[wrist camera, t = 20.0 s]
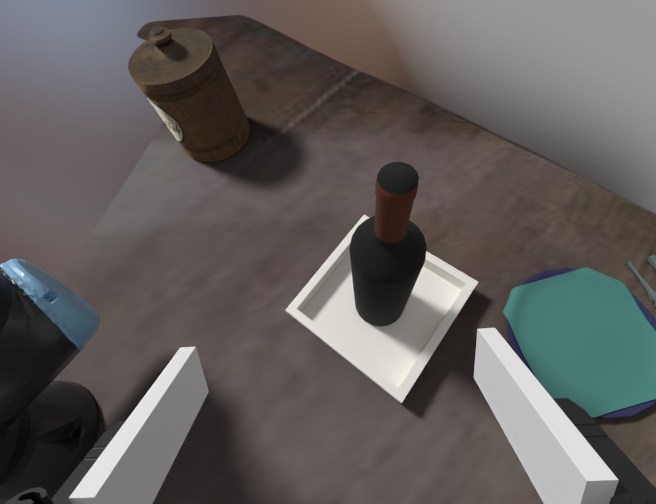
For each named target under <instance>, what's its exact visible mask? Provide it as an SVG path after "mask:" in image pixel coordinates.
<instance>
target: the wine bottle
mask: <svg viewBox="0 0 656 504" xmlns="http://www.w3.org/2000/svg"><path fill="white" fill-rule="evenodd" d="M418 179H419V177H418V173H417V172H416V170H415V169H414V168H413V167H412V166H410V165H409V164H406V163H402V162H394V163H390V164H387V165H385V166H384V167H383V168H381V170H380V171H379V173H378V176H377V180H376V190H375V193H376V208H375V216H373V217H371V218H369V219H366V220H365V221H364V222H363V223H361V224H360V225H359V226H358V227H357V229H356V230H355V232H354V233H353V235H352V238H351V243H350V248H349V252H350V261H351V270H352V280H353V289H354V298H355V306H356V310H357V312H358V314H359V316H360V317H361V318H362V319H363V320H364V321H365V322H367V323H369V324H371V325H374V326H379V327H380V326H388V325H390V324H392V323H394V322H396V321H397V320H398V319H399V318H400V317H401V315H402V313H403V311H404V308H405V306H406V304H407V302H408V299H409V297H410V295H411V292H412V290H413V288H414V285H415V283H416V281H417V279H418V276H419V274H420V272H421V269H422V267H423V265H424V262H425V258H426V243H425V239H424V235H423V234H422V232H421V231H420V229H419V228H418V227H417V226H416V225H415V224H414V223H413V222H411V221H410V220H409V218H410V213H411V209H412V205H413V201H414V199H415V197H416V193H417V189H418Z"/></svg>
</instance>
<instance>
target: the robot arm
mask: <svg viewBox="0 0 656 504" xmlns="http://www.w3.org/2000/svg"><path fill="white" fill-rule="evenodd" d="M99 322H100V318H99V315H98V314H97V312H96V311H95V310H94V309H93V308H92V307H91V306H90V305H89V304H88V303H87V302H86V301H85V300H84V299H83V298H81V297H80V296H79V295H77V294H76V293H75V292H74V291H72V290H71V289H70V288H68V287H67V286H65V285H64V284H63V283H61V282H60V281H58V280H57V279H55V278H54V277H52V276H51V275H49V274H47V273H46V272H44V271H43V270H41V269H39V268H38V267H36V266H34V265H32V264H30V263H28V262H26V261H24V260H19V259H11V260H9V261H8V262H6V263H2V264H1V265H0V504H153V502H154V500H155V498H156V496H157V494H158V492H159V490H160V488H161V486H162V484H163V482H164V480H165V478H166V476H167V474H168V472H169V470H170V468H171V466H172V464H173V462H174V460H175V458H176V456H177V454H178V452H179V450H180V448H181V446H182V444H183V442H184V440H185V438H186V436H187V434H188V432H189V430H190V428H191V426H192V424H193V422H194V420H195V418H196V416H197V414H198V412H199V410H200V408H201V406H202V404H203V402H204V400H205V398H206V396H207V394H208V392H209V391H208V387H207V384H206V380H205V377H204V373H203V370H202V367H201V363H200V360H199V356H198V353H197V350H196V347H184V348H180V349H179V350H178V351H177V353H176V354H175V355H174V357H173V358H172V359H171V361H170V362H169V363H168V365H167V366H166V367H165V369H164V370H163V372H162V373H161V374H160V376H159V377H158V378H157V380H156V381H155V382H154V384H153V385H152V386H151V388H150V389H149V390H148V392H147V393H146V394H145V396H144V397H143V398H142V400H141V401H140V403H139V404H138V405H137V407H136V408H135V409H134V411H133V412H132V413H131V415H130V416H129V417H128V419H127V420H125V421H117V422H116V423H115V424H114V425H113V426H111V427H110V428H109V429H108V430H107V431H105V432H104V433H103V434H102V436H101V437H100V438H99V440H98V441H97V442H96V443H95V445H94V446H93V444H94V441H95V438H96V434H97V428H98V411H97V406H96V403H95V400H94V398H93V396H92V395H91V393H90V392H89V391H88V390H87V389H86V388H85V387H83V386H82V385H80V384H77V383H74V382H65V381H53V380H54V379H55V378H56V377H57V375H58V374H59V373H60V372H61V371H62V370H63V369H64V368H65V367H66V366H67V365H68V364H69V363H70V362H71V361H72V360H73V358H74V357H75V356H76V355H77V354H78V353H79V352H80V351H82V350H83V349H84V345H85V344H86V343H87V342H88V340H89V339H90V338H91V337H92V335H93V334H94V333H95V332H96V330H97V329H98V327H99ZM474 379H475V381H476V383H477V385H478V386H479V388H480V390H481V392H482V393H483V395H484V397H485V399H486V401H487V402H488V404H489V406H490V408H491V410H492V411H493V413H494V415H495V417H496V419H497V420H498V422H499V424H500V426H501V427H502V429H503V431H504V433H505V435H506V436H507V438H508V440H509V442H510V444H511V445H512V447H513V449H514V451H515V453H516V454H517V456H518V458H519V460H520V461H521V463H522V465H523V467H524V469H525V470H526V472H527V474H528V476H529V478H530V479H531V481H532V483H533V485H534V487H535V488H536V490H537V492H538V494H539V495H540V497H541V499H542V501H543V503H544V504H656V488H655V487H654V486H653V485H652V484H651V483H650V482H649V481H648V480H647V479H646V477H645V476H644V475H643V474H642V473H641V472H640V471H639V470H638V469H637V467H636V466H635V465H634V464H633V463H632V462H631V461H630V460H629V459H628V457H627V456H626V455H625V454H624V453H623V452H622V451H621V450H620V449H619V447H618V446H617V445H616V444H615V443H614V442H613V441H612V440H611V438H608V436H607V434H606V433H605V432H604V431H603V430H602V428H601V427H600V426H598V425H597V423H596V422H595V421H594V420H593V418H592V417H591V416H590V415H589V414H588V413H587V412H586V411H585V410H584V409H583V408H582V407H580V406H579V405H577V404H576V403H574V402H573V401H571V400H570V399H569V398H556V399H552V397H551V396H550V395H549V394H548V392H547V391H546V390H545V389H544V388H543V386H542V385H541V384H540V383H539V381H538V380H537V379H536V378H535V376H534V375H533V374H532V373H531V372H530V370H529V369H528V368H527V367H526V365H525V364H524V363H523V362H522V360H521V359H520V358H519V357H518V356H517V354H516V353H515V352H514V351H513V349H512V348H511V347H510V346H509V344H508V343H507V342H506V341H505V340H504V338H503V337H502V336H501V335H500V333H499V332H498V331H497V330H496V328H484V329H477V341H476V354H475V366H474ZM92 447H93V449H92ZM55 493H56V494H55ZM54 494H55V495H54ZM52 495H54V497H53V498H52V499H51V498H50V496H52Z"/></svg>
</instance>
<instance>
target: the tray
mask: <svg viewBox="0 0 656 504" xmlns="http://www.w3.org/2000/svg"><path fill="white" fill-rule="evenodd" d="M366 219H369V217H367V216H366V215H363V217H362V218H361V219H360V220H359V221H358V223H357V224H356V225H355V226H354V228H353V229H352V230H351V231H350V232H349V234H348V235H347V236H346V237H345V238H344V240H343V241H342V242H341V243H340V245H339V246H338V247H337V248H336V249H335V251H334V252H333V253H332V254H331V255H330V257H329V258H328V259H327V260H326V262H325V263H324V264H323V265H322V266H321V268H320V269H319V270H318V271H317V272H316V274H315V275H314V276H313V277H312V278H311V280H310V281H309V282H308V283H307V285H306V286H305V287H304V288H303V289H302V291H301V292H300V293H299V294H298V295H297V297H296V298H295V299H294V300H293V302H292V303H291V304H290V305H289V306H288V308H287V309H286V312H287V313H288V314H289V315H290V316H291V317H292V318H294V319H295V320H296V321H297V322H299V323H300V324H301V325H302V326H304V327H305V328H306V329H307V330H309V331H310V332H311V333H312V334H314V335H315V336H316V337H317V338H319V339H320V340H321V341H322V342H324V343H325V344H326V345H327V346H329V347H330V348H331V349H332V350H334V351H335V352H336V353H337V354H339V355H340V356H341V357H342V358H344V359H345V360H346V361H347V362H349V363H350V364H351V365H352V366H354V367H355V368H356V369H357V370H359V371H360V372H361V373H362V374H364V375H365V376H366V377H367V378H369V379H370V380H371V381H372V382H374V383H375V384H376V385H377V386H379V387H380V388H381V389H382V390H384V391H385V392H386V393H387V394H389V395H390V396H391V397H392V398H394V399H395V400H396V401H397V402H399V403H402V402H403V400H404V399H405V397H406V396H407V394H408V392H409V391H410V389H411V388H412V386H413V385H414V383H415V381H416V380H417V378H418V377H419V375H420V373H421V372H422V370H423V369H424V367H425V365H426V364H427V362H428V361H429V359H430V358H431V356H432V354H433V353H434V351H435V350H436V348H437V346H438V345H439V343H440V342H441V340H442V339H443V337H444V335H445V334H446V332H447V331H448V329H449V327H450V326H451V324H452V323H453V321H454V320H455V318H456V316H457V315H458V313H459V312H460V310H461V308H462V307H463V305H464V304H465V302H466V301H467V299H468V297H469V296H470V294H471V293H472V291H473V289H474V288H475V286H476V285H477V283H478V281H476V280H474V279H472V278H471V277H469V276H467V275H466V274H464V273H462V272H461V271H459V270H457V269H455V268H454V267H452V266H450V265H449V264H447V263H445V262H444V261H442V260H440V259H439V258H437V257H435V256H433V255H432V254H430V253H428V252H427V251H426V258H425V262H424V265H423V267H422V269H421V272H420V274H419V276H418V279H417V281H416V283H415V285H414V288H413V290H412V292H411V295H410V297H409V299H408V302H407V304H406V306H405V308H404V311H403V313H402V315H401V317H400V318H399V319H398V320H397V321H396V322H394V323H392V324H390V325H388V326H380V327H379V326H374V325H371V324H369V323H367V322H365V321H364V320H363V319H362V318H361V317H360V316H359V314H358V312H357V310H356V306H355V298H354V289H353V280H352V270H351V261H350V252H349V248H350V243H351V238H352V235H353V233H354V232H355V230H356V229H357V227H358V226H359V225H360V224H361V223H363V222H364V221H365V220H366Z"/></svg>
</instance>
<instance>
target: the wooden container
mask: <svg viewBox="0 0 656 504" xmlns="http://www.w3.org/2000/svg"><path fill="white" fill-rule="evenodd" d="M149 38H150V39H149V40H147V41H145V42H144V43H143V44H142V45H141V46H139V47H138V48H137V49H136V50H135V52H134V53H133V54H132V56H131V58H130V60H129V66H128V69H129V72H130V74H131V76H132V77H133V79H134V80H135V82H136V83H137V85H138V86H139V87H140V89H141V90H142V91H143V92H144V94H145V95H146V97H147V98H148V100H149V101H150V102H151V104H152V105H153V107H154V108H155V109H156V111H157V112H158V114H159V115H160V117H161V118H162V120H163V121H164V123H165V124H166V125H167V127H168V128H169V130H170V131H171V132H172V134H173V135H174V136H175V138H176V139H177V140H178V142H179V143H180V144H181V146H182V147H183V148H184V150H185V151H186V152H187V154H188V155H189V156H190V157H192V158H193V159H195V160H198V161H201V162H216V161H221V160H224V159H227V158H229V157H230V156H232V155H234V154H235V153H237V152H238V151H239V150H240V149H241V148H242V147H243V146H244V145H245V143H246V142H247V140H248V137H249V134H250V126H249V123H248V120H247V118H246V116H245V113H244V111H243V109H242V106H241V104H240V102H239V99H238V97H237V95H236V93H235V90H234V88H233V86H232V84H231V82H230V80H229V78H228V76H227V73H226V71H225V69H224V67H223V65H222V62H221V60H220V58H219V55H218V53H217V50H216V48H215V46H214V44H213V42H212V40H211V39H210V37H209V36H208V35H207V34H206V33H205V32H203V31H201V30H197V29H192V28H181V29H174V30H170V31H169V30H168V29H167V28H165V27H161V26H155V27H153V28H152V29H151V32H150V34H149Z"/></svg>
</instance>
